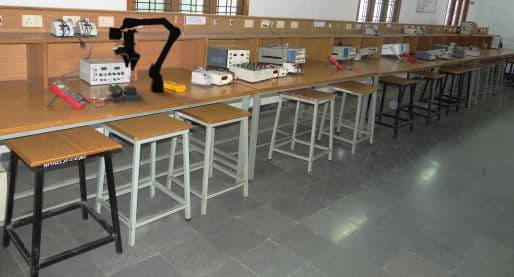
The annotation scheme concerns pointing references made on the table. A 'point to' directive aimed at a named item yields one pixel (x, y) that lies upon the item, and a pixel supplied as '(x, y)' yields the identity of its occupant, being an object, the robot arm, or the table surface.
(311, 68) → the table surface
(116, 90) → the motor mount
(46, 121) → the table surface
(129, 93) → the pump block
